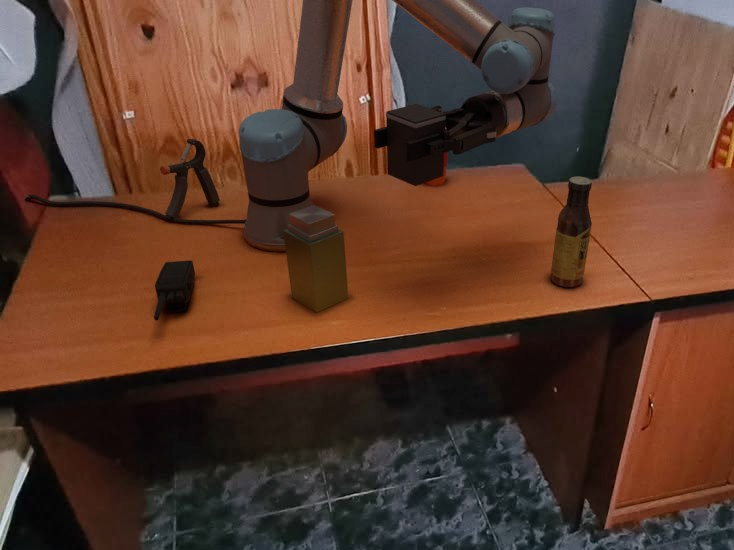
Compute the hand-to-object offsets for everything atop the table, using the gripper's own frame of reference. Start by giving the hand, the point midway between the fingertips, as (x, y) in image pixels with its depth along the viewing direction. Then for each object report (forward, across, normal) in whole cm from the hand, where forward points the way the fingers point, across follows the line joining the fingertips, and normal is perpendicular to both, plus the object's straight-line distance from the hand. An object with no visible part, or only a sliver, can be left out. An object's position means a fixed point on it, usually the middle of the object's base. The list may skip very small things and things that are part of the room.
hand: (391, 145), depth 104 cm
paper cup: (-45, +34, -29) cm, 63 cm away
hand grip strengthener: (+6, +56, -29) cm, 63 cm away
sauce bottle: (-29, -16, -28) cm, 44 cm away
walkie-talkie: (+27, +25, -29) cm, 46 cm away
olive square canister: (+8, +11, -28) cm, 31 cm away
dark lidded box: (-5, 0, -6) cm, 8 cm away
